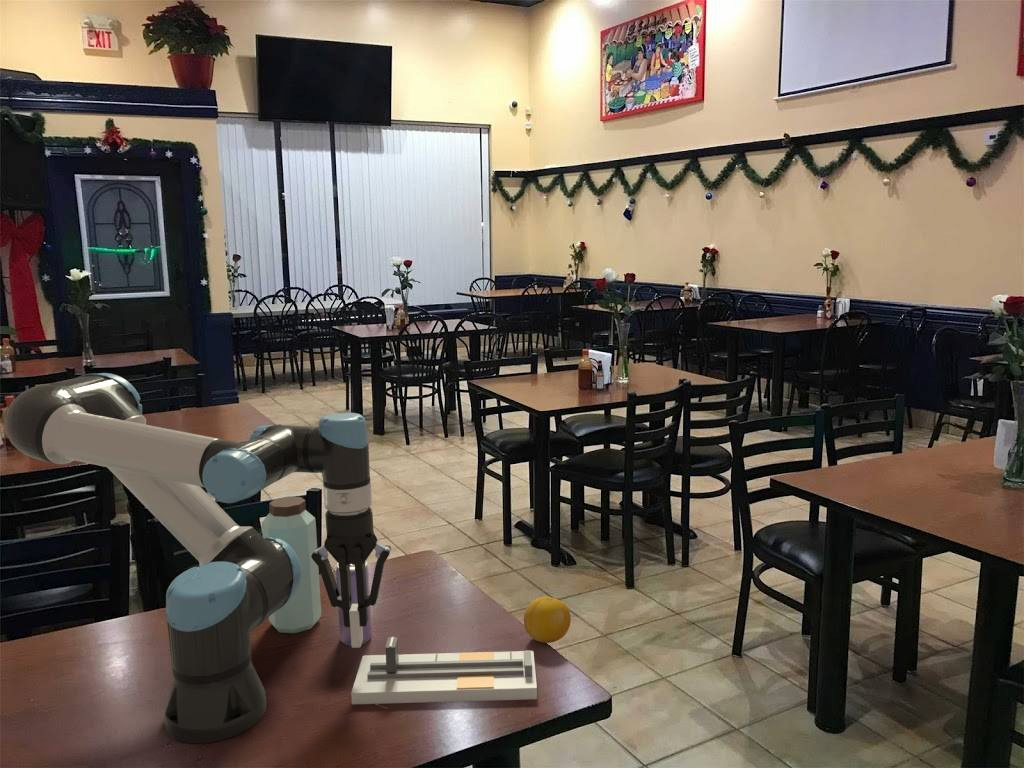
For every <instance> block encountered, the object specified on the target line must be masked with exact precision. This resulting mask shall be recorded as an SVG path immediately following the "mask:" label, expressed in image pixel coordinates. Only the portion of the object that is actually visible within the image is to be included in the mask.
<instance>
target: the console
mask: <svg viewBox="0 0 1024 768" xmlns="http://www.w3.org/2000/svg"><path fill="white" fill-rule="evenodd" d="M534 655H535V654H534V650H531V649H530V650H527V649H526V650H522V651H519V650H517V651H516V650H515V651H514V650H512V651H477V652H471V651H470V652H448V653H446V652H445V653H443V652H442V653H440V652H439V653H412V654H410V653H408V654H407V653H403V654H398V656H399V662H398V666H397V671H396V672H387V670H386V654H374V655H373V654H371V655H370V654H368V655H362V657H361V660H360V663H359V667H358V670H357V673H356V677H355V680H354V682H353V687H352V689H351V693H350V694H351V705H373V704H374V705H376V704H378V705H379V704H382V705H383V704H408V703H409V704H413V703H415V704H416V703H417V704H418V703H419V704H420V703H446V702H447V703H449V702H455V703H456V702H482V701H483V702H486V701H487V702H488V701H519V700H520V701H522V700H523V701H524V700H538V689H537V688H538V686H537V676H536V665H535V656H534Z"/></svg>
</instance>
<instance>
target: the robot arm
mask: <svg viewBox="0 0 1024 768" xmlns="http://www.w3.org/2000/svg"><path fill="white" fill-rule="evenodd" d="M140 401H141V396H140V394H139V392H138V391H137V390H136V388H135V386H133V385H132V384H131V383H130V382H129V381H128V380H127V379H125V378H123V377H122V376H120V375H117V374H113V373H110V372H109V373H107V372H101V373H100V372H99V373H87V374H82V375H80V376H77V377H74V378H71V379H66V380H61V381H56V382H52V383H51V382H49V383H45V384H41V385H36V386H33V387H30V388H29V389H26V390H24V391H22V392H21V393H20V394H18V395H17V396H16V397H15V398H14V399H13V401H12V402H11V403H10V404H9V407H8V409H7V410H6V414H5V419H4V427H5V429H4V430H5V432H6V437H7V438H8V439H9V441H10V444H12V445H13V447H14V448H15V449H16V450H17V451H18V452H21V453H22V454H23V455H25V456H26V457H30V458H32V459H34V460H38V461H41V462H42V461H43V462H47V463H51V464H52V463H53V464H57V465H67V464H70V463H71V462H74V461H77V462H81V463H86V464H89V465H95V466H100V467H104V468H107V469H108V470H109V471H110V472H111V473H112V474H113V475H114V476H115V477H116V478H117V479H118V481H120V482H121V483H122V484H123V486H124V487H126V488H127V489H128V490H129V492H130V493H132V495H134V497H136V498H137V500H138V501H140V503H141V504H142V505H143V506H144V507H145V508H146V509H147V510H148V511H149V512H150V513H151V514H152V515H153V516H154V517H155V518H156V519H157V520H158V521H159V523H161V525H163V526H164V527H165V528H166V529H167V531H169V532H170V533H171V534H172V535H173V537H174V538H175V539H176V540H177V541H178V542H179V543H180V544H181V545H182V546H183V547H184V548H185V549H186V550H187V551H188V553H190V554H191V555H192V556H193V557H194V558H195V559H196V561H198V563H199V566H193V567H190V568H189V569H187V570H185V571H183V572H182V573H180V574H179V575H178V576H176V577H175V578H174V579H173V580H172V581H171V583H169V584H170V585H169V586H168V588H167V590H166V592H165V593H166V594H165V611H164V612H165V613H164V614H165V618H166V619H165V620H166V621H167V623H166V624H167V631H168V640H169V650H170V658H171V659H170V660H171V668H172V681H171V685H170V689H169V692H168V696H167V700H166V704H165V708H164V725H165V731H166V733H167V734H168V736H170V737H171V738H173V740H174V739H175V740H177V741H179V742H183V743H188V744H205V743H207V744H208V743H214V742H218V741H222V740H226V739H230V738H232V737H233V738H234V737H235V736H237V735H240V734H241V733H244V732H246V731H247V730H249V729H250V728H252V727H254V726H255V725H256V724H257V723H258V722H259V721H260V720H261V719H262V718H263V717H264V715H265V713H266V710H267V696H266V690H265V688H264V686H263V683H262V681H261V679H260V677H259V675H258V673H257V670H256V668H255V666H254V664H253V662H252V649H251V648H252V647H251V637H250V635H251V633H252V632H253V631H254V630H255V629H256V628H258V627H259V626H260V625H261V624H262V623H264V622H265V621H266V620H267V619H269V616H270V615H272V614H273V613H274V612H275V611H276V610H279V609H280V608H282V607H283V606H284V605H285V604H286V603H287V602H288V600H289V599H290V598H291V597H292V596H293V595H294V594H295V592H296V591H297V589H298V587H299V584H300V580H301V573H300V571H301V566H300V562H299V559H298V557H297V555H296V553H295V551H294V550H293V549H292V547H291V546H290V545H289V544H287V543H286V542H285V541H283V540H281V539H279V538H272V537H266V538H263V535H262V534H260V533H259V532H258V530H256V529H255V528H254V527H253V526H249V525H248V526H240V525H239V524H238V523H236V522H235V521H234V520H233V518H232V517H230V516H229V514H228V513H227V512H225V510H224V509H223V508H222V507H220V505H219V504H218V503H217V502H216V501H218V502H221V503H225V504H233V503H237V502H240V501H242V500H246V499H247V500H248V499H249V498H251V497H253V496H254V495H256V494H258V492H259V493H260V491H262V490H264V489H266V488H268V487H269V486H271V485H273V484H274V483H276V482H278V481H280V480H282V479H284V478H285V477H287V476H289V475H291V474H293V473H313V474H319V473H320V474H321V476H322V483H323V484H322V486H323V500H324V508H325V510H327V511H326V512H325V514H324V515H325V526H326V527H325V530H326V539H325V540H324V543H323V545H321V546H320V547H317V548H316V549H315V550H314V552H313V554H312V556H311V557H312V559H313V560H314V562H315V563H316V564H317V565H318V568H319V573H320V576H321V580H322V582H323V585H324V587H325V590H326V593H327V597H328V599H329V600H328V601H329V602H330V603H329V604H330V605H331V607H333V608H336V607H337V608H338V607H340V608H342V610H343V619H344V626H345V627H350V630H351V648H353V649H354V648H361V647H362V645H363V644H362V642H363V629H362V626H366V625H367V622H368V609H367V607H368V606H372V607H373V606H375V605H376V604H377V601H378V598H379V593H380V589H381V588H380V587H381V583H382V577H383V573H384V567H385V562H386V561H387V560H388V558H389V556H390V553H391V550H392V546H390V545H389V544H386V545H384V544H382V543H381V542H379V541H378V538H377V536H376V534H375V530H374V515H373V514H374V513H373V508H372V507H371V506H372V503H373V497H372V496H373V495H372V482H371V474H370V473H371V472H370V471H371V470H370V451H369V450H370V448H369V447H370V440H369V436H368V435H369V434H368V428H367V420H366V418H365V417H364V416H363V415H362V414H360V413H356V412H335V413H329V414H326V415H323V416H322V417H320V419H319V421H318V426H310V425H309V426H308V425H306V426H305V425H284V424H281V423H279V424H278V423H276V424H272V425H271V424H269V425H267V424H265V425H260V426H257V427H256V428H255V429H254V430H253V433H252V434H251V435H250V436H249V438H248V440H247V441H245V442H238V441H231V440H227V439H222V438H221V439H220V438H216V437H212V436H208V435H207V436H206V435H202V434H201V435H200V434H197V433H196V434H195V433H191V432H187V431H181V430H176V429H175V430H174V429H170V428H164V427H160V426H154V425H150V424H147V418H146V417H145V416H144V415H143V405H142V404H141V403H140ZM203 488H205V490H206V491H205V490H204V489H203ZM211 496H212V497H213V498H214V499H216V501H215V500H214V499H213V498H212V497H211ZM373 551H375V552H374V553H375V554H374V556H375V558H376V559H377V560H376V563H375V567H374V573H373V577H372V582H371V586H370V587H371V588H370V595H369V596H367V585H366V570H365V561H367V560H368V559H369V557H370V555H371V554H372V553H373ZM329 554H330V556H331V557H332V558H333V559H334V560H335V561H336V563H337V564H338V563H339V571H340V583H341V596H340V593H339V590H338V587H337V582H336V579H335V578H336V576H335V575H334V572H333V569H332V566H331V565H332V564H331V562H330V560H329ZM350 564H354V565H355V571H356V586H357V600H358V604H351V602H352V600H353V599H352V594H351V578H350Z"/></svg>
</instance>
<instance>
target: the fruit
mask: <svg viewBox="0 0 1024 768" xmlns="http://www.w3.org/2000/svg"><path fill="white" fill-rule="evenodd" d="M571 620H572V619H571V613H570V609H569V607H568V606H567V604H565V602H563V601H561V600H560V599H558V598H555V597H552V596H546V595H545V596H544V595H543V596H540V597H537V598H535V599H533V600H532V601H531V602H530V603H529V604H528V606H527V607H526V608H525V611H524V614H523V625H524V629H525V630H526V631H525V632H526V633H527V634H528V635H529V636H530V637H531V638H532V639H533V640H535V641H537V642H539V643H546V644H548V643H555V642H557V641H559V640H561V639H562V638H564V636H565V635H566V634H567V632H568V631H569V629H570V626H571Z"/></svg>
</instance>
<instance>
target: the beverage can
mask: <svg viewBox="0 0 1024 768" xmlns="http://www.w3.org/2000/svg"><path fill="white" fill-rule="evenodd" d="M369 569H370V568H369V566H368V561H367V560H366V561H365V570H366V585H367V596H369V595H370V592H371V588H370V587H371V586H370V570H369ZM335 575H336V576H335V578H336V579H335V580H336V583H337V587H338V590H339V593H340V596H341V583H340V571H339V563H338V562H337V564H336V569H335ZM350 578H351V594H352V599H353V600H352V602H351V604H358V600H357V586H356V571H355V565H354V564H350ZM371 608H372V607H371V605H370V606H368V607H367V609H368V622H367V625H366V626H362V629H363V642H362V645H364V644H366V643H367V642H368V641H370V639H371V638H372V636H373V633H372V632H373V630H372V629H373V628H372V611H371V610H372V609H371ZM337 614H338V628H339V629H338V632H339V639H340V641H341V642H342V643H343V644H344V645H346V646H351V630H350V627H345V626H344V619H343V610H342V608H340V607H337ZM351 647H352V646H351Z"/></svg>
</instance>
